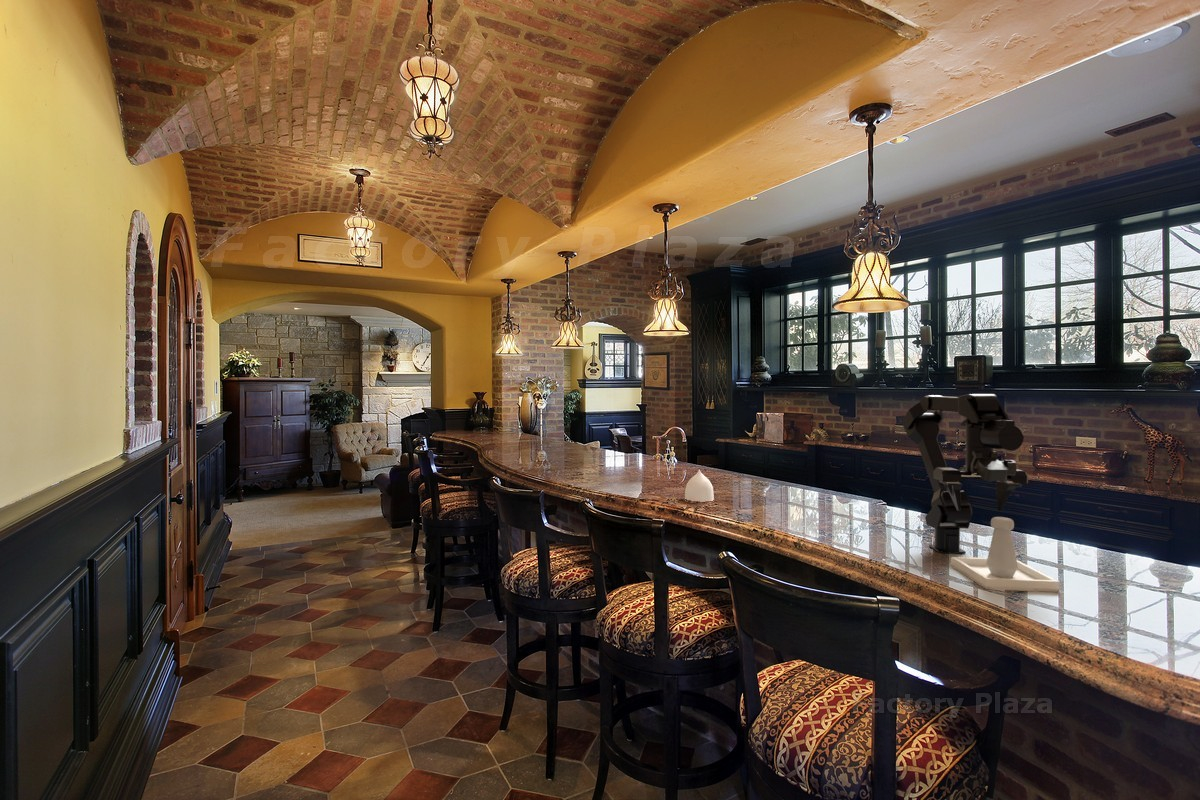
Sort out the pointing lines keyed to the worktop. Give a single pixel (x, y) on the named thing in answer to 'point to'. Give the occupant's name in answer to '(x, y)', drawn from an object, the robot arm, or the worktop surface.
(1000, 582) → the tray
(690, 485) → the teardrop
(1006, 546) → the salt shaker
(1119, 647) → the worktop surface
